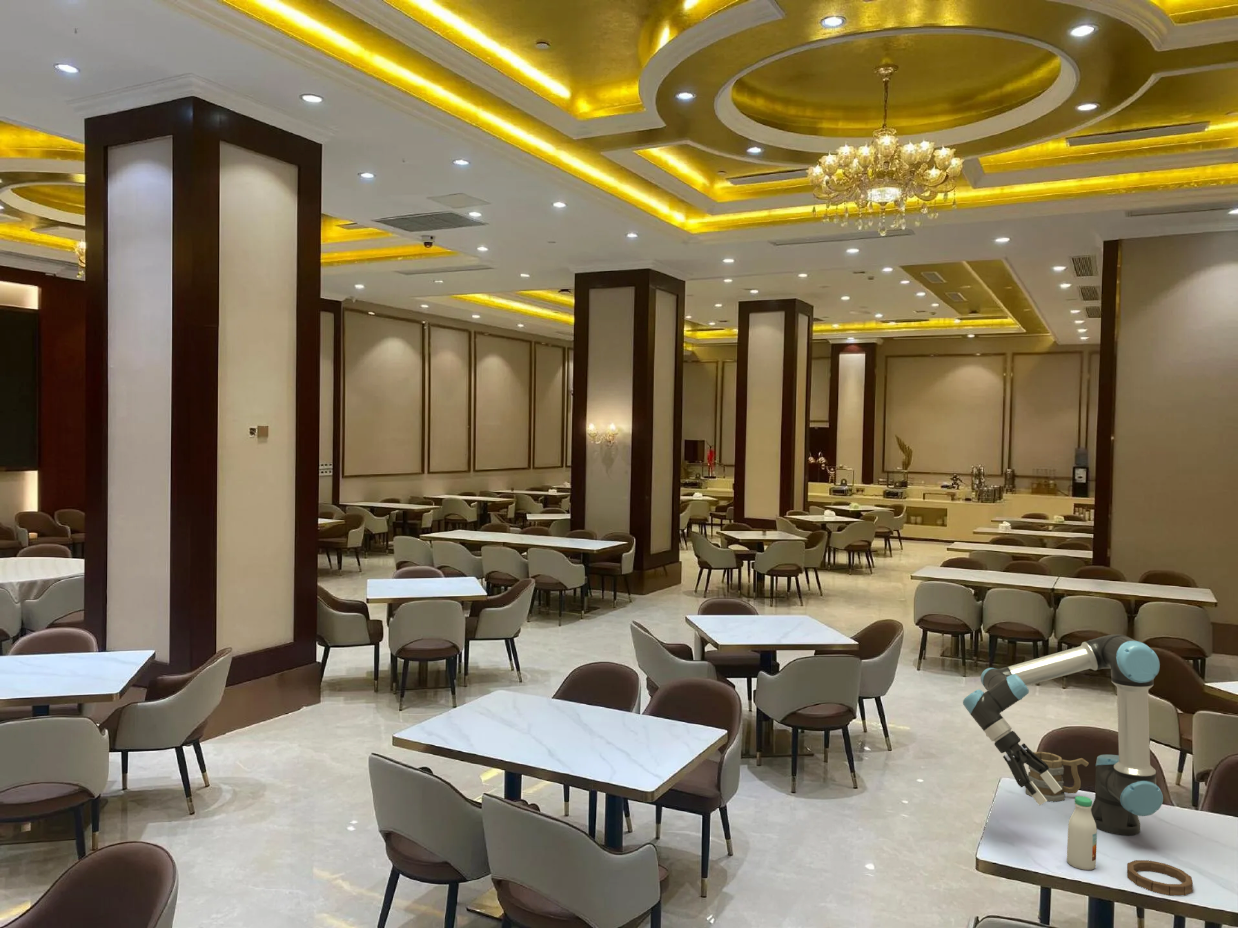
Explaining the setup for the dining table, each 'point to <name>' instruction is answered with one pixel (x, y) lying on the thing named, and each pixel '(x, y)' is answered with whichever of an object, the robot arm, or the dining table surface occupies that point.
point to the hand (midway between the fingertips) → (1051, 797)
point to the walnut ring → (1159, 887)
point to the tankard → (1055, 776)
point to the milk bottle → (1082, 836)
